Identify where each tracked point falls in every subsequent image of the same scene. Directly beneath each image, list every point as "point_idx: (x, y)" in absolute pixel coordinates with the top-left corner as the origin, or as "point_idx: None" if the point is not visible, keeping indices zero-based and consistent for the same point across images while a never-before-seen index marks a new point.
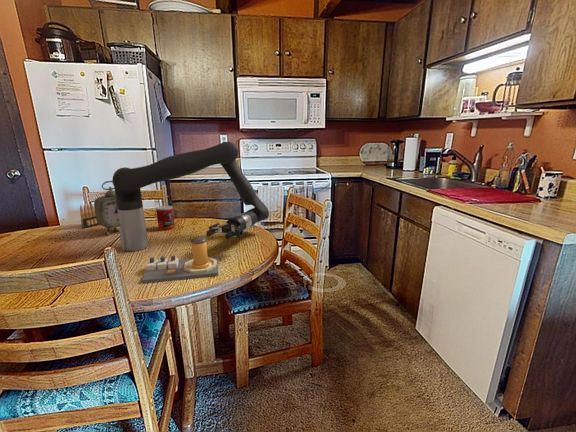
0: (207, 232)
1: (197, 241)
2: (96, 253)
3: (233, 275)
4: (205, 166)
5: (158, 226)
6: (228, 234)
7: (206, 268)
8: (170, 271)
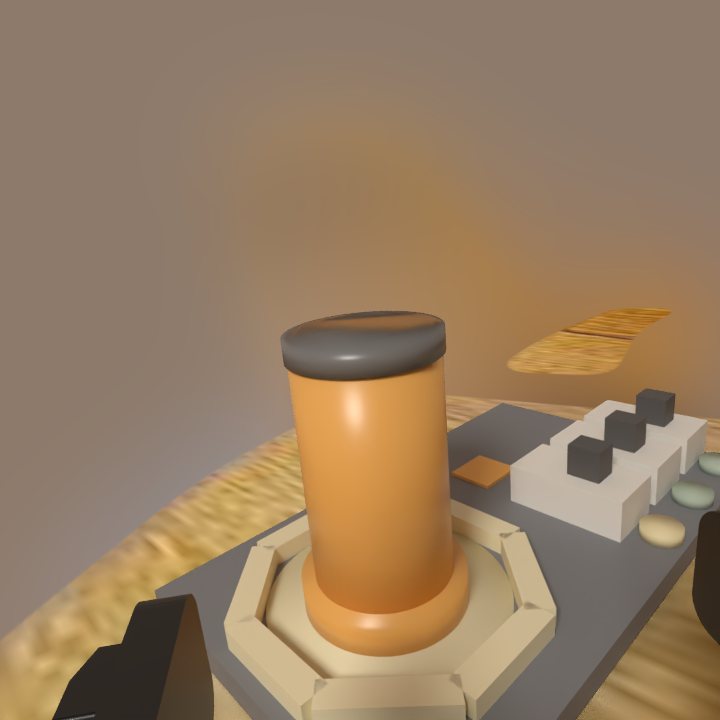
0: (707, 516)
1: (321, 320)
2: None
3: (10, 676)
4: None
5: None
6: (121, 673)
7: (268, 553)
8: (481, 466)
